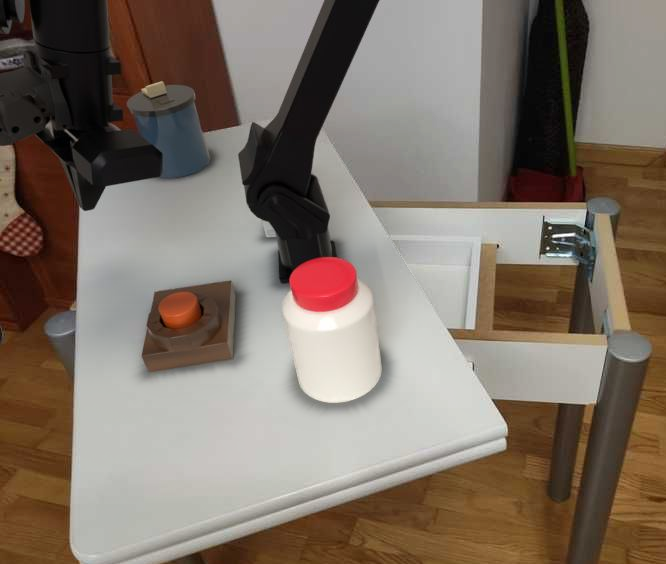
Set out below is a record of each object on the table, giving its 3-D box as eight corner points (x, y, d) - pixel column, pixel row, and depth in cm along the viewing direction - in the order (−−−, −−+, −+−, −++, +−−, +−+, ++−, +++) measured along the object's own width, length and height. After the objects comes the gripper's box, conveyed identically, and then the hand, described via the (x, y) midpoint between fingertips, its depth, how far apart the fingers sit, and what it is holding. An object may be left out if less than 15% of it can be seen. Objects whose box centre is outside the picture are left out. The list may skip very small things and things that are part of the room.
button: (200, 326, 61) (195, 312, 60) (161, 332, 61) (155, 318, 60) (203, 303, 64) (198, 289, 63) (166, 308, 64) (160, 294, 63)
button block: (232, 361, 63) (222, 330, 60) (148, 374, 62) (134, 343, 60) (236, 296, 70) (227, 265, 68) (160, 307, 70) (148, 277, 67)
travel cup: (223, 163, 94) (205, 95, 88) (164, 185, 91) (141, 116, 84) (196, 144, 100) (177, 79, 93) (140, 164, 96) (116, 98, 90)
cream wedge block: (167, 93, 90) (163, 82, 89) (150, 98, 89) (146, 87, 88) (158, 87, 91) (155, 76, 90) (142, 92, 90) (138, 81, 89)
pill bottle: (372, 406, 57) (359, 308, 50) (287, 399, 58) (262, 303, 51) (388, 346, 63) (378, 250, 55) (310, 341, 64) (290, 247, 57)
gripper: (-80, 6, 54) (-42, 181, 63) (15, 91, 45) (42, 279, 54) (60, 6, 61) (75, 163, 70) (165, 79, 52) (166, 248, 61)
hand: (87, 208), depth 64 cm, fingers closed
